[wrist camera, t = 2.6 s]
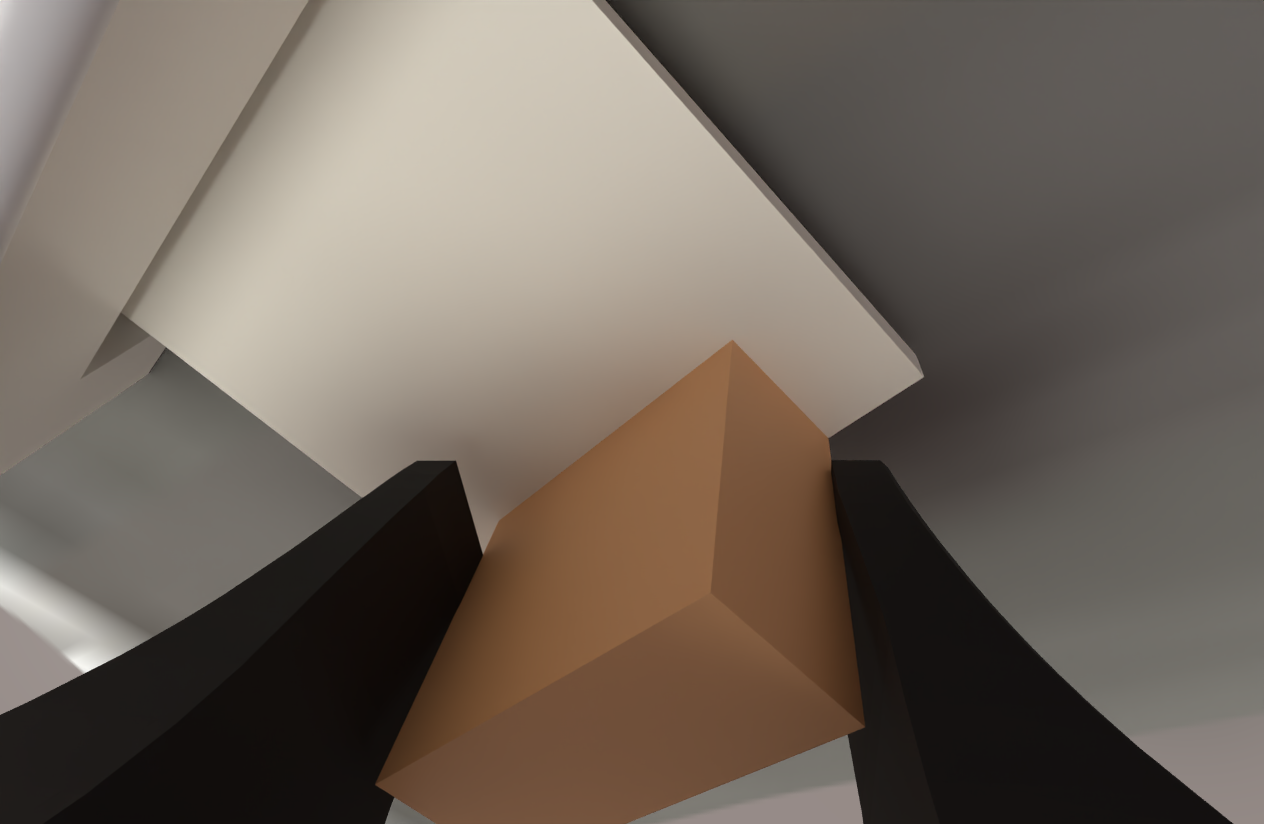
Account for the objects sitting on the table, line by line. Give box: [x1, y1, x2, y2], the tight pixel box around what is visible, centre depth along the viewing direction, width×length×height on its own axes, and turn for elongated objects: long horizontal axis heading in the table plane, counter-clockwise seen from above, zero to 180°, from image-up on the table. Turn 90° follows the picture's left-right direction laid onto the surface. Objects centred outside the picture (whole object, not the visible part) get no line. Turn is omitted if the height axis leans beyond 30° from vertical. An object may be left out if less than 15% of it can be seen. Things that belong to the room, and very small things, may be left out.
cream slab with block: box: [121, 0, 924, 824], centre depth 8 cm, size 14×8×5 cm, turn 45°
